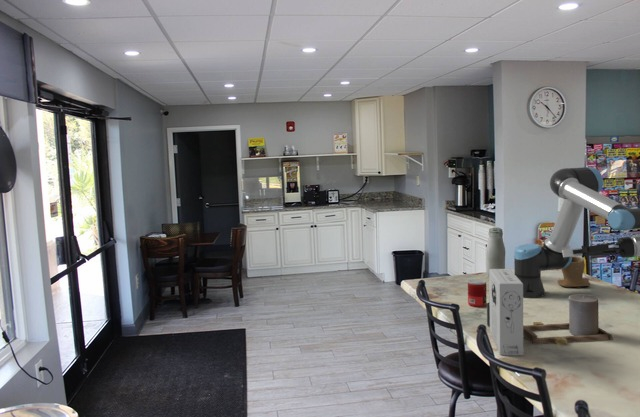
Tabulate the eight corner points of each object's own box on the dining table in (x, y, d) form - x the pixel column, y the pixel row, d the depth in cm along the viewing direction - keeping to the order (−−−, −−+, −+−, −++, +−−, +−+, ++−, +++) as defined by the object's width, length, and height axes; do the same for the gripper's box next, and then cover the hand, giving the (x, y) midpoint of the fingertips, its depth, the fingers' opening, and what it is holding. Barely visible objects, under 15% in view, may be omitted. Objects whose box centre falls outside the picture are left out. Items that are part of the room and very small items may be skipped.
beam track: (585, 323, 195) (585, 316, 195) (616, 341, 176) (616, 333, 176) (512, 327, 194) (512, 320, 194) (536, 346, 175) (536, 338, 175)
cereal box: (523, 356, 168) (523, 283, 165) (499, 355, 169) (499, 283, 166) (510, 333, 189) (510, 268, 186) (489, 332, 190) (489, 268, 188)
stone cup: (563, 289, 243) (563, 259, 242) (555, 283, 255) (555, 254, 253) (596, 289, 241) (596, 259, 240) (586, 283, 253) (586, 254, 251)
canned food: (487, 307, 220) (487, 283, 219) (468, 307, 222) (468, 283, 221) (485, 302, 228) (485, 279, 227) (467, 302, 230) (467, 279, 228)
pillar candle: (595, 329, 188) (595, 291, 187) (601, 339, 179) (601, 298, 178) (567, 328, 192) (567, 290, 190) (571, 337, 182) (570, 297, 181)
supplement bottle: (484, 323, 200) (483, 294, 199) (500, 322, 201) (500, 293, 200) (491, 329, 194) (491, 299, 192) (508, 328, 194) (508, 298, 193)
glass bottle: (485, 280, 266) (485, 228, 263) (486, 276, 276) (486, 226, 273) (505, 281, 263) (505, 229, 260) (505, 276, 272) (505, 226, 269)
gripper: (639, 253, 177) (567, 260, 184) (629, 259, 189) (562, 266, 196) (634, 233, 180) (563, 240, 186) (624, 240, 191) (558, 247, 198)
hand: (563, 253), depth 191 cm, fingers closed
